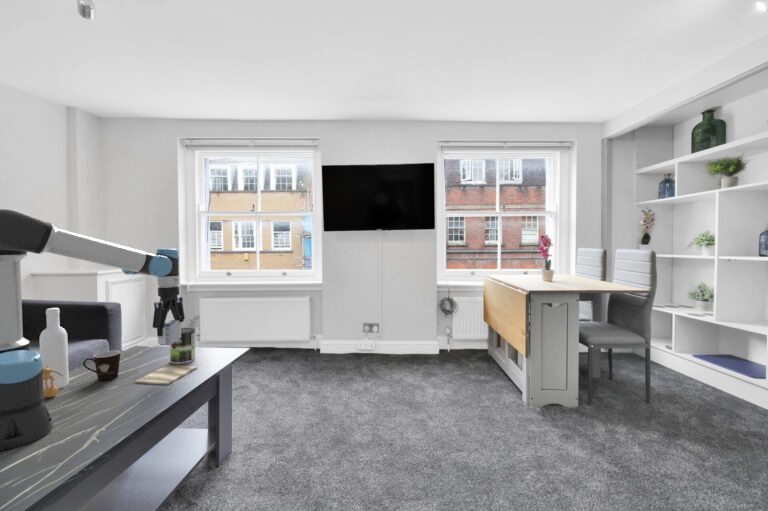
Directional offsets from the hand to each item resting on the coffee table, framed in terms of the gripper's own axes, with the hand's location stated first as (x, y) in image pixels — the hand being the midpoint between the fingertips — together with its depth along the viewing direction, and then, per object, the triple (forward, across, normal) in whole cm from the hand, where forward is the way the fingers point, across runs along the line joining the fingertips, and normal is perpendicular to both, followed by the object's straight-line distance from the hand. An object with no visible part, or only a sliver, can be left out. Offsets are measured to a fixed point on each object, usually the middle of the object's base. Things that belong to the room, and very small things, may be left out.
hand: (169, 340), depth 148 cm
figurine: (+15, -25, +27) cm, 40 cm away
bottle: (+15, -16, +35) cm, 41 cm away
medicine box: (+1, 0, 0) cm, 1 cm away
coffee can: (+15, +18, +7) cm, 24 cm away
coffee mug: (+15, -6, +24) cm, 29 cm away
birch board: (+15, 0, +1) cm, 15 cm away
